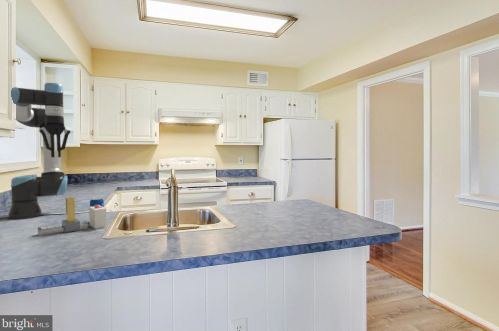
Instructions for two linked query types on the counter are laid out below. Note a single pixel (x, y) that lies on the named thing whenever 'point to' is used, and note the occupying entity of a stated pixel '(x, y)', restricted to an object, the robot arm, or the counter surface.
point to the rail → (58, 229)
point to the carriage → (70, 216)
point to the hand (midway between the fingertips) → (56, 164)
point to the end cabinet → (97, 217)
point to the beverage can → (96, 202)
